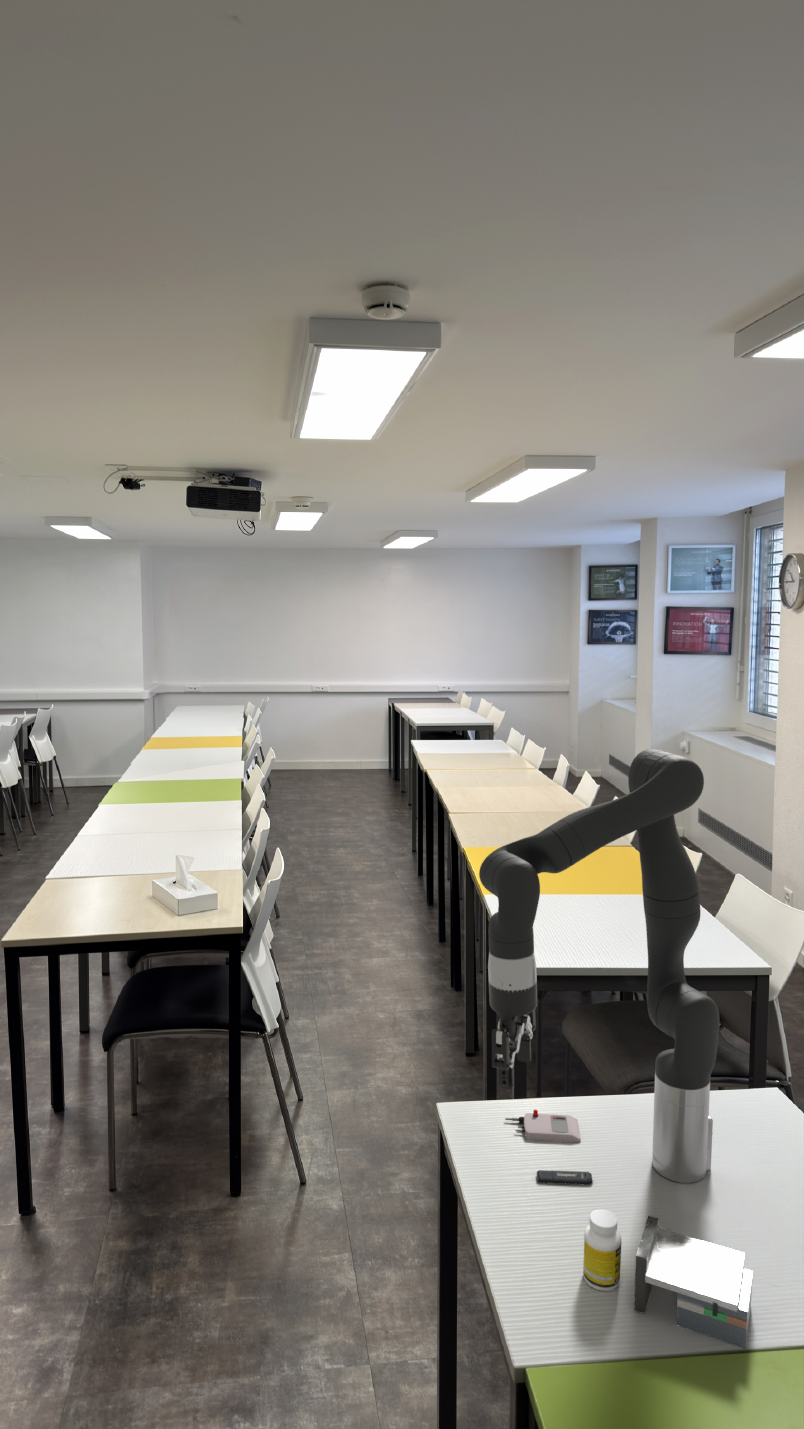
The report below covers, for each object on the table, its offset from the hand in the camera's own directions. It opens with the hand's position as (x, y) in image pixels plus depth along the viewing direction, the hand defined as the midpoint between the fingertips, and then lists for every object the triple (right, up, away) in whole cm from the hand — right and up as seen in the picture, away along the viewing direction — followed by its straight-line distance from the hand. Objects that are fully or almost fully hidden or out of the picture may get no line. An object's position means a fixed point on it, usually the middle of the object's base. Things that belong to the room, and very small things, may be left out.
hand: (515, 1073), depth 142 cm
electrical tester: (+9, -22, +27) cm, 36 cm away
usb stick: (+10, -24, +12) cm, 29 cm away
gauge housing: (+26, -27, -17) cm, 41 cm away
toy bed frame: (+23, -26, -16) cm, 38 cm away
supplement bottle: (+12, -27, -10) cm, 31 cm away
